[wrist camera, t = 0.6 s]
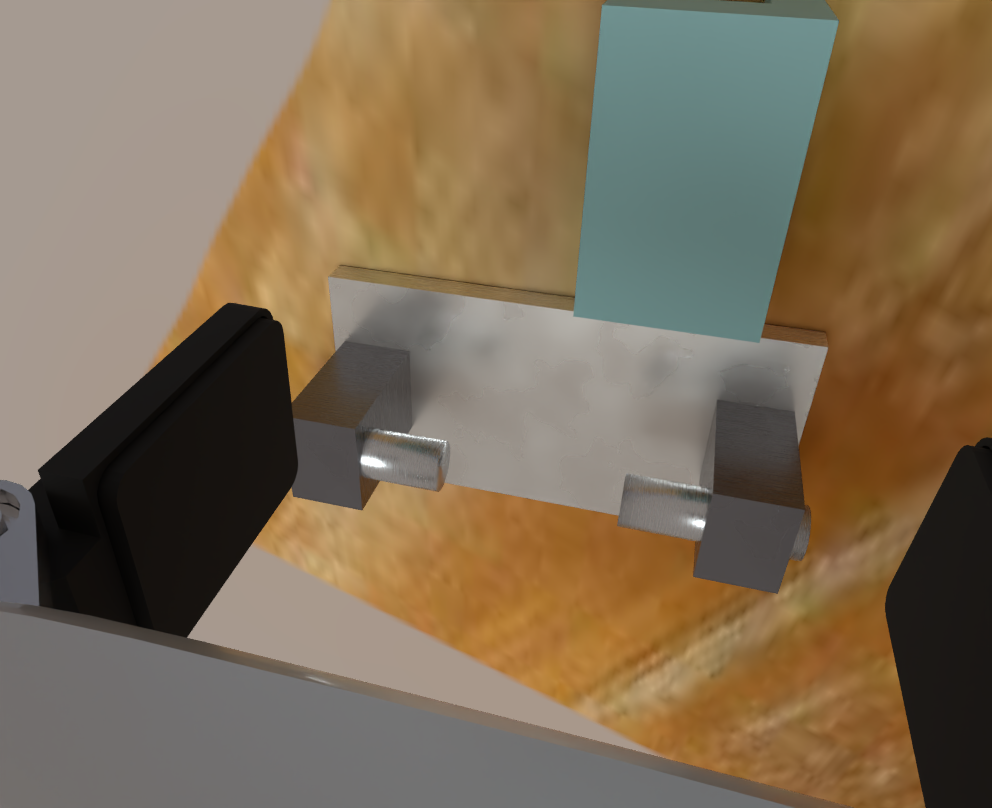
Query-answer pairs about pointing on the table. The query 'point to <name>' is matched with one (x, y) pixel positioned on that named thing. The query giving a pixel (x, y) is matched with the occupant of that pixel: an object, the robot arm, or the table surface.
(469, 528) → the table surface
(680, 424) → the shaft rig
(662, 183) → the teal block
